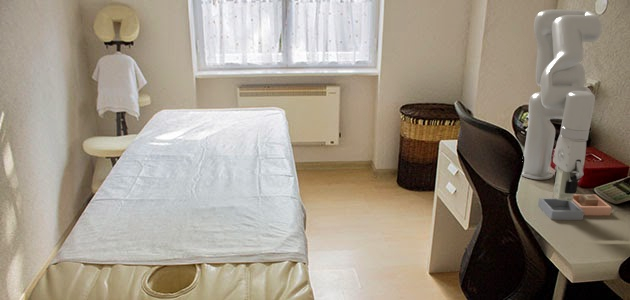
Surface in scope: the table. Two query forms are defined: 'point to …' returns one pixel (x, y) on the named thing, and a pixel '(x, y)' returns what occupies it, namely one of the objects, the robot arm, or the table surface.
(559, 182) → the skincare box
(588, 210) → the bin terracotta
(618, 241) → the table surface
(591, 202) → the letter cube
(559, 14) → the robot arm
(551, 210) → the bin grey
